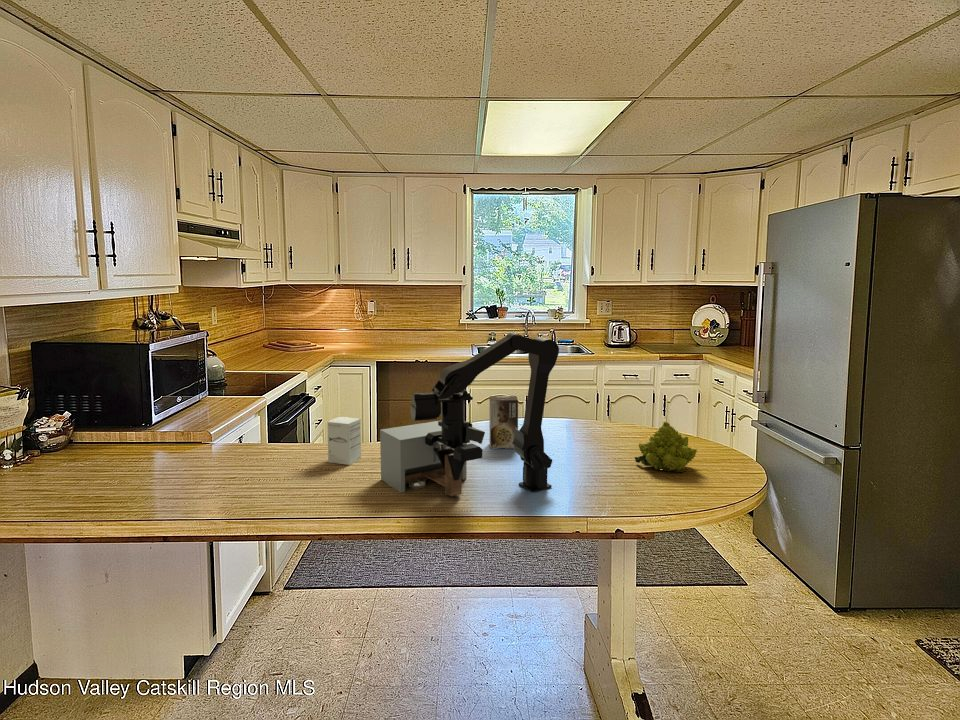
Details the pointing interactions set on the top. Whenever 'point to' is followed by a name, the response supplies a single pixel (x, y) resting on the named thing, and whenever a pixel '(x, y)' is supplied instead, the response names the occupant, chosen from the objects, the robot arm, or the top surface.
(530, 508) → the top surface
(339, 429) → the supplement box
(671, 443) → the vegetable
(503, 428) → the coffee box
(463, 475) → the cabinet
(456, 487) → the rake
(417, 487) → the disc left
